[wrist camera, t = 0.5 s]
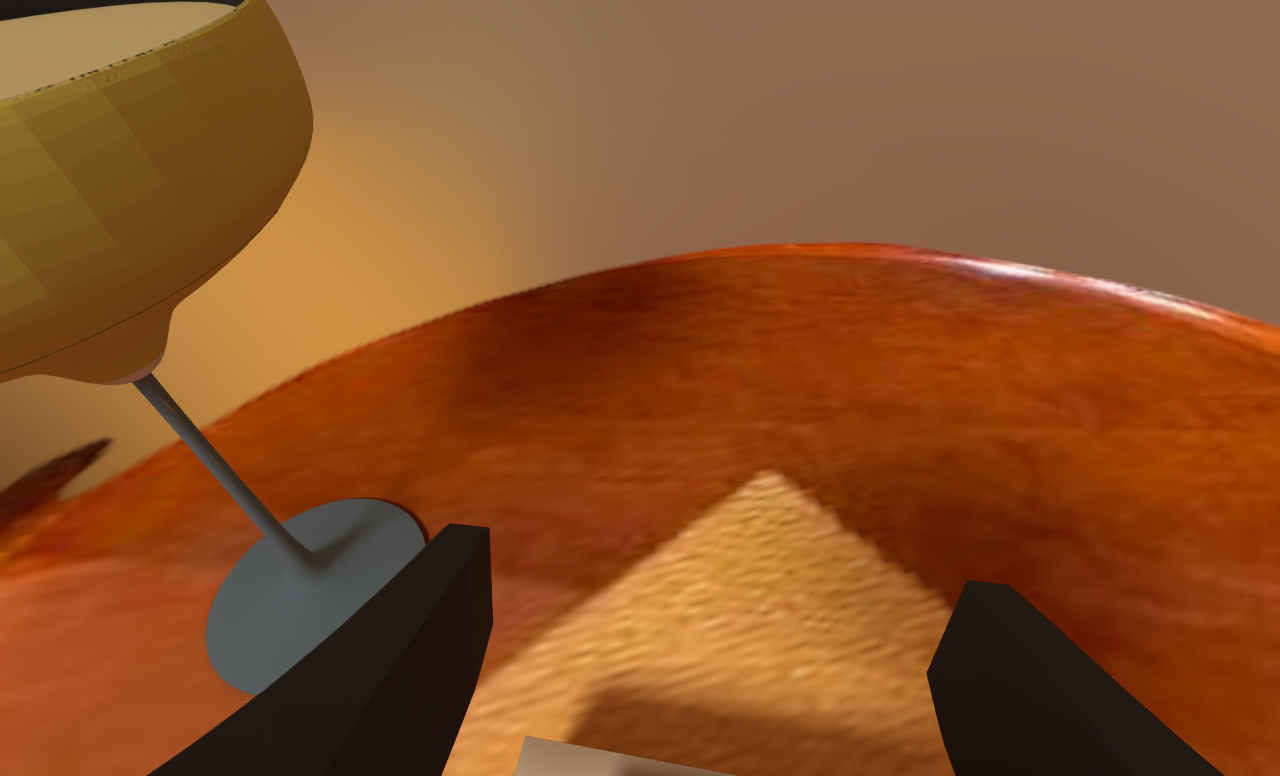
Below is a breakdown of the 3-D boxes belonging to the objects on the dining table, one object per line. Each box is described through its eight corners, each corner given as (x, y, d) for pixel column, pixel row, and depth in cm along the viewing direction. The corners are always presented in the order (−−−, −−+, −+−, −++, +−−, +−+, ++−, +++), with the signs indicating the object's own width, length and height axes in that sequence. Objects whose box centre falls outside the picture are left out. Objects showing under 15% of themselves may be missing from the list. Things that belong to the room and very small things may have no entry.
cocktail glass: (288, 892, 23) (-993, 424, 6) (50, 663, 30) (-817, 162, 13) (565, 519, 34) (407, -26, 17) (341, 418, 41) (72, -31, 24)
